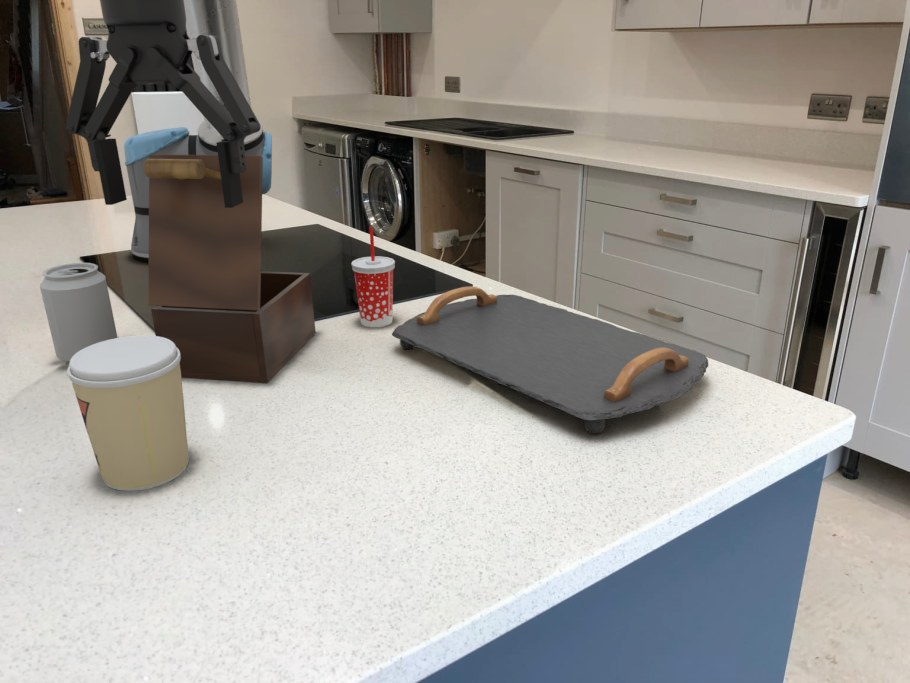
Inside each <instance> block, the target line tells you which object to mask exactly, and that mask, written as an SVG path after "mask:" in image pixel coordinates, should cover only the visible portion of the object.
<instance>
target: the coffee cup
mask: <svg viewBox="0 0 910 683" xmlns="http://www.w3.org/2000/svg"><path fill="white" fill-rule="evenodd" d="M180 359H181V356H180V351H179V349H178V348H177V347H176V346H175V344H174V343H173V342H172V341H171V340H169V339H167V338H163V337H159V336H156V335H148V334H147V335H146V334H145V335H144V334H143V335H142V334H141V335H129V336H120V337H119V336H118V338H115V339H110V340H106V341H102V342H99V343H96V344H93V345H90V346H88V347H86V348H84V349H82V350H80V351H79V352H77V353H76V354H75V355H74V356H73V357H72V358H71V360H70V363H69V364H68V366H67V375H68V378H69V380H70V381H71V383H72V387H73V391H74V393H75V394H74V395H75V397H76V400H77V404H78V407H79V410H80V413H81V416H82V417H81V418H82V419H83V423H84V427H85V429H86V433H87V436H88V439H89V443H90V446H91V448H92V452H93V455H94V458H95V461H96V464H97V468H98V471H99V473H100V476H101V478H102V481H103V482H104V484H105V485H106V486H108V487H109V488H111V489H114V490H117V491H125V492H136V491H144V490H150V489H153V488H157V487H159V486H163V485H165V484H167V483H169V482H172V481H173V480H175V479H176V478H178V477H179V476H181V475H182V473H183V472H185V470H186V469H187V467H188V464H189V445H188V434H187V433H188V432H187V424H186V423H187V422H186V412H185V400H184V388H183V378H181V369H180Z"/></svg>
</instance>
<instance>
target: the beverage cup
mask: <svg viewBox="0 0 910 683" xmlns="http://www.w3.org/2000/svg"><path fill="white" fill-rule="evenodd" d="M368 228H369V241H370V242H369V244H370V256H363V257H359V258H356V259H354V260H352V261H351V263H350V264H351V270H352V271H353V274H354V283H355V290H356V296H357V297H356V298H357V305H358V312H359V321H360V324H361V325H362V326H364V327H366V328H382V327H386V326H389V325H391V324H392V323H393V309H394V308H393V307H394V306H393V305H394V269H395V267H396V260H394V258H391V257H388V256H381V255H380V256H376V255H375V242H374V240H375V239H374V226H368Z"/></svg>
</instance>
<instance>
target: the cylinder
mask: <svg viewBox="0 0 910 683" xmlns="http://www.w3.org/2000/svg"><path fill="white" fill-rule="evenodd" d="M130 95H131V100H132V106H133V111H134V118H135V123H136V129H137V135H138V134H142V133H147V132H152V131H157V130H163V129H169V128H178V127H186V128H187V129H188V131H189V135H198V127H199V125H200V124H201V123H202V122H203V121H204V117H203V114H202V113H201V112H200V111H199V110H198V109H197V108H196V107H195V105H194V104H193V103H192V102H191V101H190V100H189V99H188V98H187V96H186V95H185V94H184V93H183V92H182V91H134V92H133V91H132V92H131V94H130Z"/></svg>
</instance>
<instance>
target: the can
mask: <svg viewBox="0 0 910 683" xmlns="http://www.w3.org/2000/svg"><path fill="white" fill-rule="evenodd" d="M98 269H99V265H98V264H95V263H91V262H72V263H65V264H60V265H55V266H52V267H49V268H47V269H46V270H44V271H43V272H42V276H43V277H44V278H43V279H42V281H41V283H40V284H39V289H40V294H41V298H42V301H43V305H44V310H45V314H46V318H47V322H48V327H49V331H50V335H51V336H50V337H51V339H52V343H53V349H54V352H55V357H56V358H57V359H58V360H60V361H63V362H65V364H67V365H69V363H70V360H71V358H72V357H73V356H74V355H75V354H76V353H77V352H79V351H80V350H82V349H84V348H86V347H88V346H90V345H93V344H96V343H99V342H102V341H106V340H110V339H115V338H119V336H118V333H117V327H116V323H115V318H114V311H113V308H112V302H111V296H110V293H109V288H108V283H107V277H106V275H105V274H104V273H102V272H101V271H99V270H98Z"/></svg>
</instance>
